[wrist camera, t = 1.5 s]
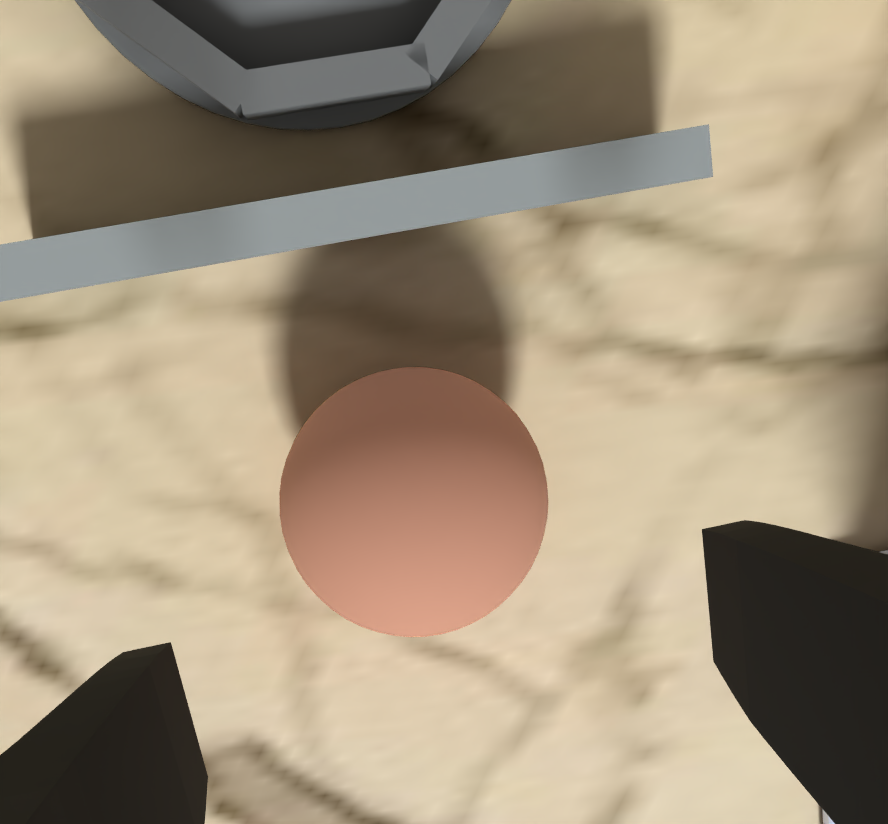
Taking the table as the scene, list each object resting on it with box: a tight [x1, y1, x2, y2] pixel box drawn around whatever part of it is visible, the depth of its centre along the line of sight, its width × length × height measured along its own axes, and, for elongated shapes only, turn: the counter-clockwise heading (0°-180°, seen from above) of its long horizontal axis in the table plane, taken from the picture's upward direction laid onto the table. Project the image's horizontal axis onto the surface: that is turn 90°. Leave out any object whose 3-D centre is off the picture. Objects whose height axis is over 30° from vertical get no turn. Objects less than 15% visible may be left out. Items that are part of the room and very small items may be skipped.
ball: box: [280, 367, 548, 637], centre depth 18 cm, size 6×6×6 cm
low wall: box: [0, 125, 713, 302], centre depth 17 cm, size 1×14×3 cm, turn 100°
